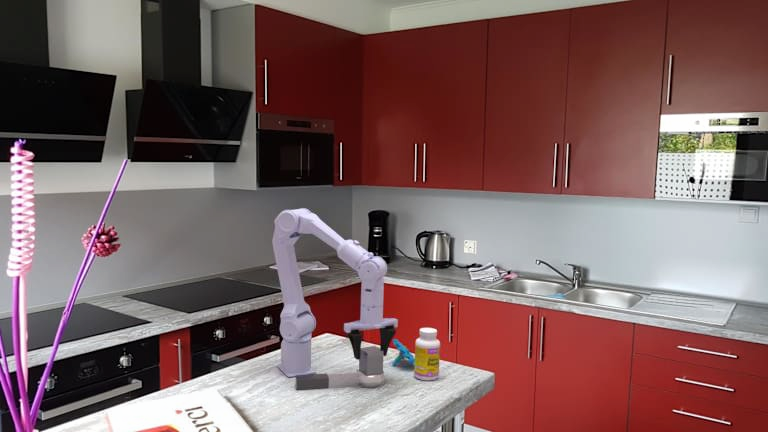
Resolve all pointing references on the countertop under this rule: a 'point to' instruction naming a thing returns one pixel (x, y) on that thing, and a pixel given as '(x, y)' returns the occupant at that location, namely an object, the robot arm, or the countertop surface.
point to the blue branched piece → (402, 353)
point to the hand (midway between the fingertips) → (370, 356)
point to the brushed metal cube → (371, 361)
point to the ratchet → (338, 381)
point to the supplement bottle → (427, 355)
